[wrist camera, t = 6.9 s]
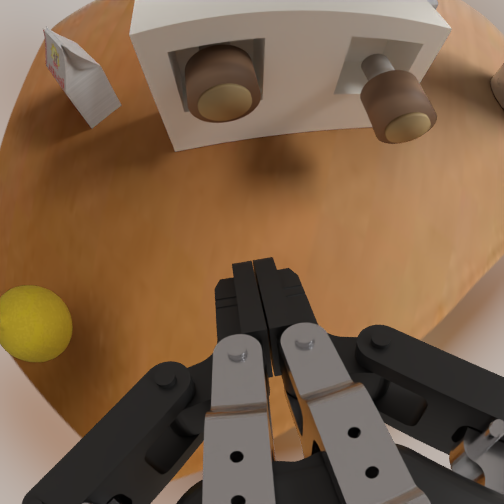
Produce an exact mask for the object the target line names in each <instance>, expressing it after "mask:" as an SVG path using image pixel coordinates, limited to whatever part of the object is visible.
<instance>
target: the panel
mask: <svg viewBox="0 0 504 504" xmlns="http://www.w3.org/2000/svg"><path fill="white" fill-rule="evenodd" d="M451 30H452V28H451V27H450V26H449V25H448V24H447V22H446V21H445V20H444V19H443V18H442V17H441V15H440V14H439V13H438V12H437V11H436V10H435V9H434V8H433V6H432V5H431V4H430V3H429V2H428V1H427V0H135V4H134V9H133V15H132V21H131V27H130V34H129V36H130V38H131V41H132V44H133V46H134V49H135V52H136V54H137V57H138V59H139V62H140V65H141V67H142V70H143V72H144V75H145V78H146V80H147V83H148V85H149V88H150V90H151V93H152V95H153V98H154V100H155V103H156V105H157V108H158V110H159V113H160V115H161V118H162V120H163V123H164V125H165V128H166V130H167V133H168V135H169V138H170V140H171V142H172V145H173V147H174V150H175V152H177V151H182V150H187V149H192V148H197V147H203V146H208V145H214V144H219V143H225V142H232V141H238V140H244V139H251V138H258V137H266V136H274V135H282V134H290V133H300V132H310V131H321V130H333V129H347V128H365V127H372V125H371V122H370V120H369V118H368V115H367V113H366V111H365V108H364V106H363V104H362V102H361V99H360V93H361V90H362V88H363V87H364V85H365V84H366V83H367V82H368V80H367V78H366V76H365V74H364V72H363V70H362V68H361V64H362V62H363V60H364V59H365V58H366V57H368V56H370V55H373V54H383V55H385V56H386V57H387V58H388V59H389V61H390V63H391V64H392V66H393V68H394V69H395V70H404V71H408V72H410V73H412V74H413V75H414V76H415V77H416V78H417V80H418V81H419V83H420V82H421V80H422V79H423V77H424V75H425V74H426V72H427V71H428V69H429V67H430V66H431V64H432V62H433V61H434V59H435V57H436V56H437V54H438V52H439V51H440V49H441V47H442V45H443V44H444V42H445V40H446V39H447V37H448V35H449V33H450V32H451ZM229 41H230V45H232V46H236V47H239V48H241V49H243V50H244V51H246V52H247V53H248V55H249V56H250V58H251V60H252V63H253V67H254V70H255V74H256V77H257V81H258V85H259V88H260V92H261V100H260V103H259V104H258V106H257V107H256V108H255V109H254V110H253V111H252V112H251V113H250V114H248V115H246V116H245V117H242V118H240V119H237V120H234V121H230V122H224V123H211V122H205V121H202V120H199V119H197V118H196V117H194V116H193V115H192V114H191V113H190V111H189V109H188V104H187V93H186V82H185V66H186V64H187V62H188V60H189V59H190V58H191V57H192V56H193V55H194V54H195V53H197V52H198V51H199V46H202V45H208V44H215V43H221V42H229Z"/></svg>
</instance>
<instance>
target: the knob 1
mask: <svg viewBox="0 0 504 504" xmlns="http://www.w3.org/2000/svg"><path fill="white" fill-rule="evenodd" d="M185 82H186V93H187V104H188V109H189V111H190V113H191V114H192V115H193V116H194V117H196V118H197V119H199V120H202V121H205V122H211V123H224V122H230V121H234V120H237V119H240V118H242V117H245V116H246V115H248V114H250V113H251V112H252V111H253V110H254V109H255V108H256V107H257V106H258V104H259V103H260V100H261V92H260V88H259V85H258V81H257V77H256V74H255V70H254V67H253V63H252V60H251V58H250V56H249V55H248V53H247V52H246V51H244V50H243V49H241V48H239V47H236V46H232V45H230V41H229V42H221V43H215V44H208V45H202V46H199V51H198V52H197V53H195V54H194V55H193V56H192V57H191V58H190V59H189V60H188V62H187V64H186V66H185Z"/></svg>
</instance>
